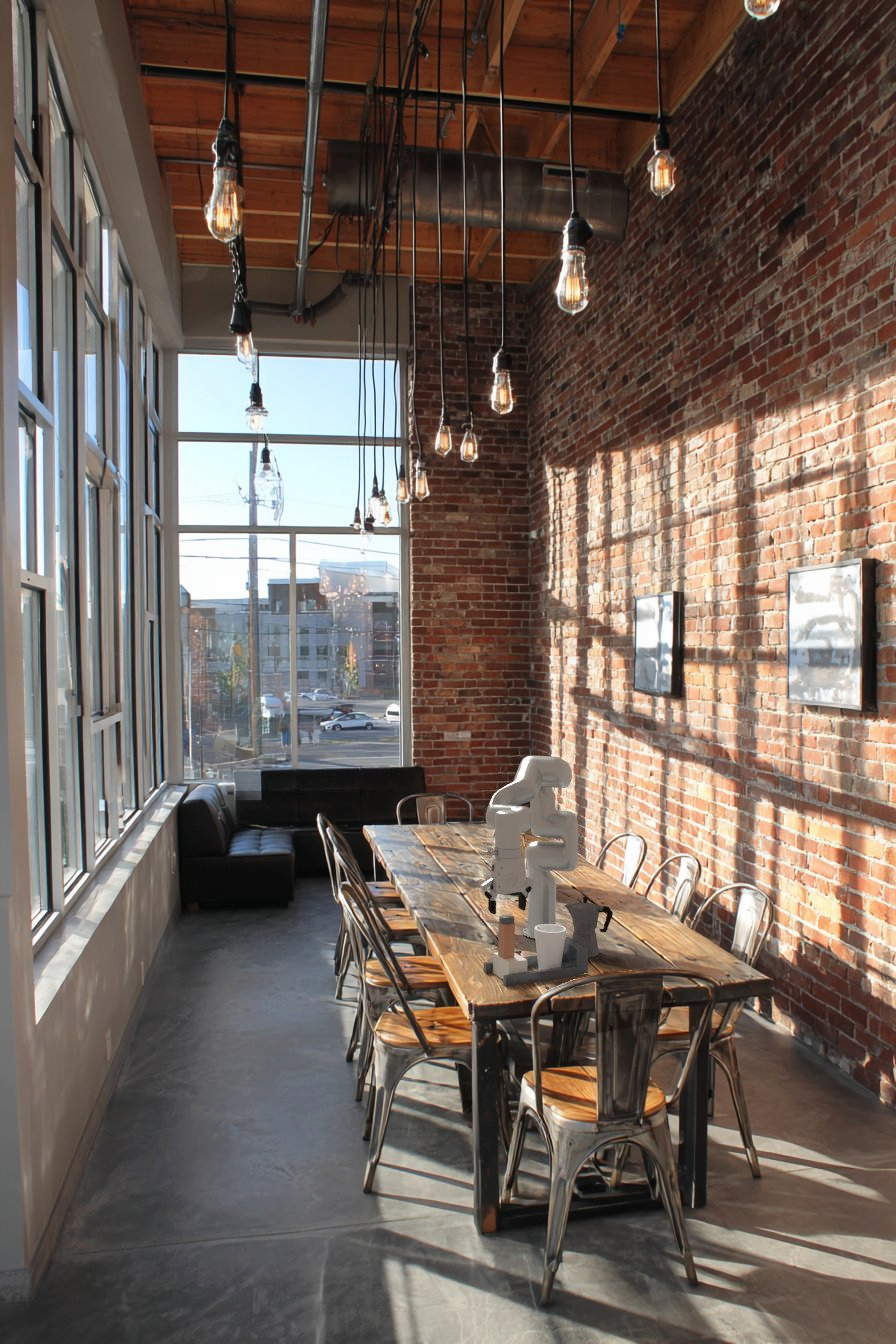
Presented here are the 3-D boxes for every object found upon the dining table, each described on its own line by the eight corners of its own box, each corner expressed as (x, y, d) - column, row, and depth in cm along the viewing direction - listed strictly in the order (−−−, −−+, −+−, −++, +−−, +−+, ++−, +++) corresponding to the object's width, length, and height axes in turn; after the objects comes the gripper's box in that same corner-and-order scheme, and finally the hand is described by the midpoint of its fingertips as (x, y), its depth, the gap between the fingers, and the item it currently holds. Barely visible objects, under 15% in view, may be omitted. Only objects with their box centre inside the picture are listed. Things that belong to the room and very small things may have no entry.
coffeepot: (560, 954, 298) (561, 897, 298) (567, 946, 307) (568, 891, 307) (609, 961, 293) (609, 902, 293) (615, 952, 301) (615, 896, 301)
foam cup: (563, 967, 286) (563, 924, 286) (568, 977, 277) (568, 932, 277) (531, 966, 286) (532, 924, 286) (535, 977, 276) (536, 932, 276)
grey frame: (483, 972, 280) (483, 945, 280) (564, 961, 292) (565, 935, 292) (505, 987, 267) (506, 959, 267) (589, 975, 279) (590, 948, 279)
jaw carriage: (491, 973, 279) (492, 913, 279) (510, 970, 281) (511, 911, 281) (507, 983, 270) (508, 922, 270) (527, 980, 272) (528, 919, 272)
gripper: (487, 858, 268) (486, 918, 269) (540, 852, 275) (539, 911, 276) (475, 853, 275) (475, 911, 275) (527, 847, 282) (527, 904, 283)
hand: (507, 911), depth 276 cm, fingers open, 9 cm apart
